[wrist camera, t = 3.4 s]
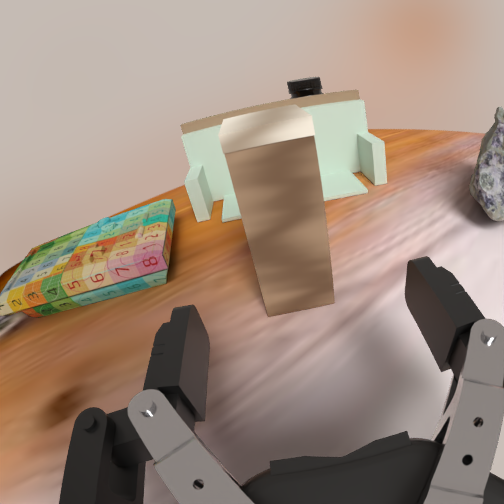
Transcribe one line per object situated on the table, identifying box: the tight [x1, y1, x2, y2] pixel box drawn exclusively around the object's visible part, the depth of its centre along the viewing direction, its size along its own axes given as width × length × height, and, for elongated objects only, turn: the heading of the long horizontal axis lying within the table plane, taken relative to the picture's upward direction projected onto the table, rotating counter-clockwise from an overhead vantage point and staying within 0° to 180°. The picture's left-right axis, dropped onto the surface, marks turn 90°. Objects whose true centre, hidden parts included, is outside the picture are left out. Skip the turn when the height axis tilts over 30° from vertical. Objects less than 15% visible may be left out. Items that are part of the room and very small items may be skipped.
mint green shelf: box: [181, 90, 387, 222], centre depth 35 cm, size 22×9×10 cm, turn 92°
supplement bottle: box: [287, 77, 324, 99], centre depth 44 cm, size 7×7×12 cm
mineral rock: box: [469, 107, 504, 221], centre depth 24 cm, size 13×11×10 cm
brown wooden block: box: [218, 104, 335, 317], centre depth 20 cm, size 5×5×12 cm
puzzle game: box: [0, 199, 176, 318], centre depth 30 cm, size 12×5×20 cm
